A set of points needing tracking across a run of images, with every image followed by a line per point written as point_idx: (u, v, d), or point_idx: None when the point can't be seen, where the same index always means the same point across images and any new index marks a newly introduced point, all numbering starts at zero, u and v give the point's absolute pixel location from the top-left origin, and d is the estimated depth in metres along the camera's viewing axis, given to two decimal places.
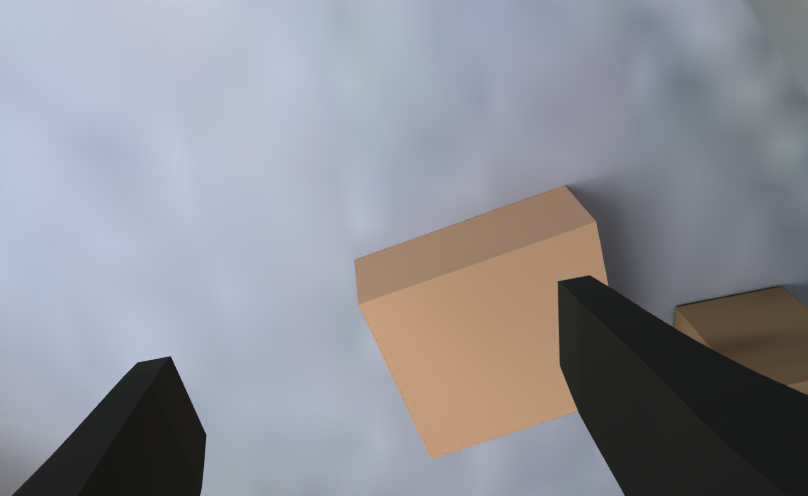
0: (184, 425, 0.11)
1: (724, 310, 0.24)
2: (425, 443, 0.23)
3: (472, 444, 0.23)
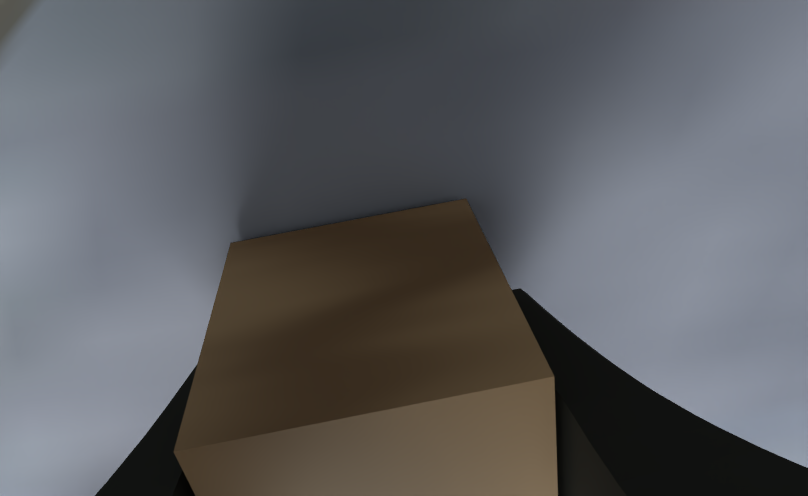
0: None
1: None
2: None
3: None
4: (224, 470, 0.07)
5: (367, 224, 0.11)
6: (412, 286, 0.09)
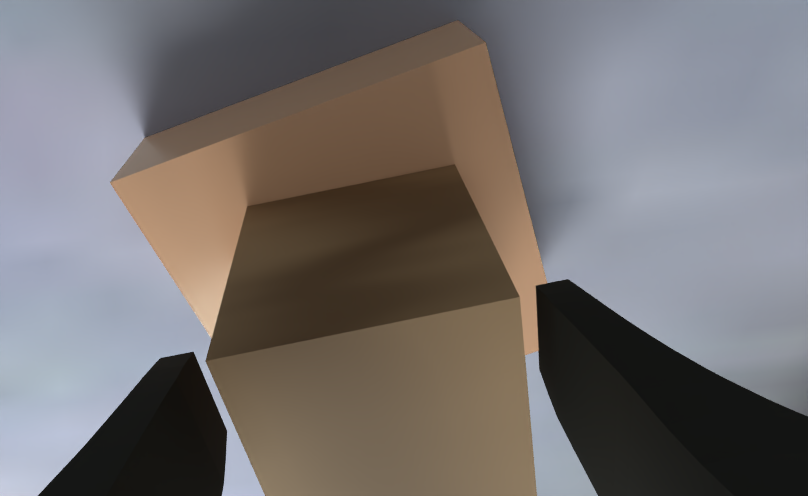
0: (207, 420, 0.11)
1: None
2: (527, 352, 0.16)
3: None
4: (247, 379, 0.09)
5: (367, 188, 0.12)
6: (404, 234, 0.11)
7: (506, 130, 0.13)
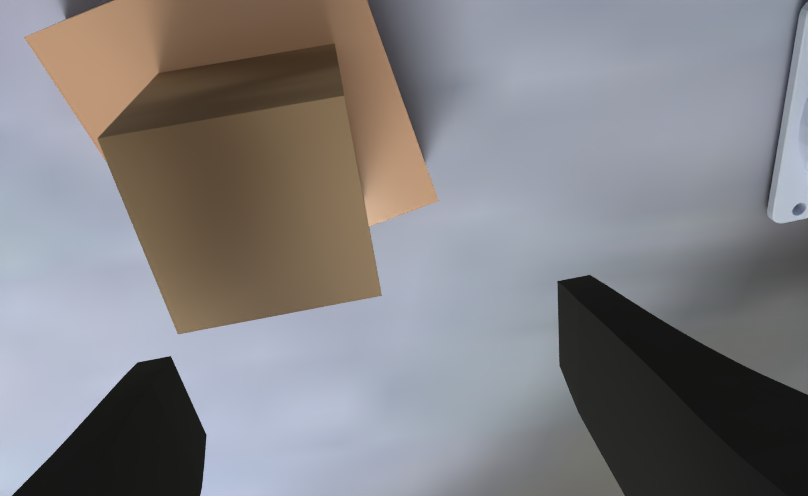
0: (184, 425, 0.11)
1: None
2: (408, 210, 0.18)
3: (417, 150, 0.17)
4: (131, 158, 0.11)
5: (259, 58, 0.15)
6: (276, 76, 0.13)
7: None
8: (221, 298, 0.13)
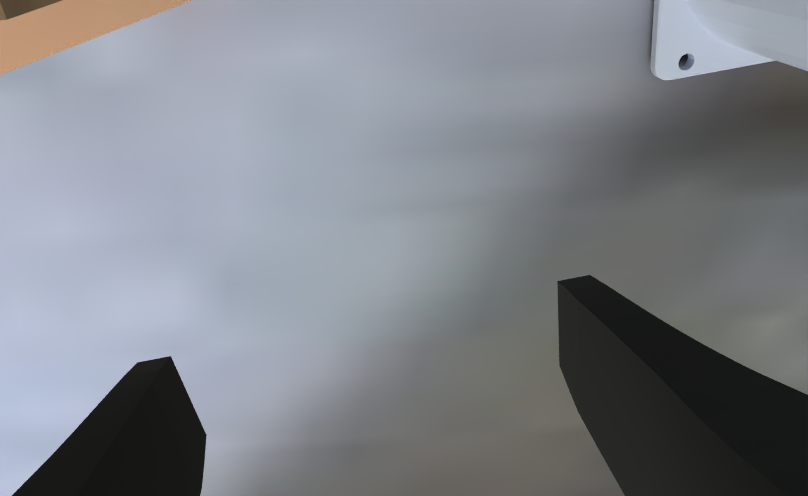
0: (184, 425, 0.11)
1: None
2: (165, 7, 0.15)
3: None
4: None
5: None
6: None
7: None
8: None
